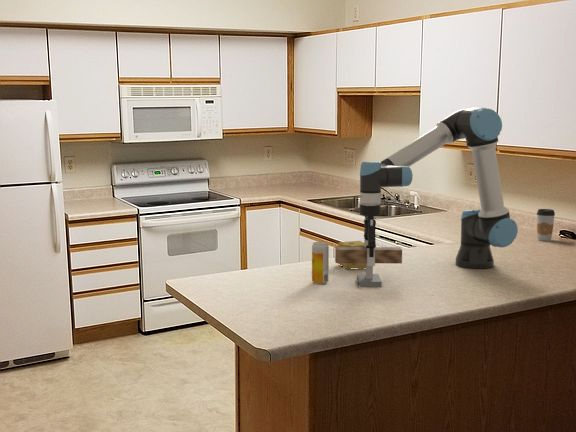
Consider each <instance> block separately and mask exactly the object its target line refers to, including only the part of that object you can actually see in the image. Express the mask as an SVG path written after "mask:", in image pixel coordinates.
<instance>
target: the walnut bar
mask: <svg viewBox="0 0 576 432" xmlns="http://www.w3.org/2000/svg"><path fill="white" fill-rule="evenodd" d="M334 248H335V250H334V251H335V257H334V261H335V264H338V263H367V248H366V247H338V246H335V247H334ZM375 264H403V249H402V248H401V247H398V246H376V247H375Z"/></svg>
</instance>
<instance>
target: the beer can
mask: <svg viewBox="0 0 576 432" xmlns="http://www.w3.org/2000/svg"><path fill="white" fill-rule="evenodd" d="M329 252H330V251H329V244H328V242H327V241H314V242H312V245H311V281H312V283H313V284H314V285H322V286H323V285H327V284H326V283H328V282H329V268H330V267H329V262H330V261H329V256H330V255H329V254H330V253H329Z"/></svg>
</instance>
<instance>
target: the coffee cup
mask: <svg viewBox="0 0 576 432" xmlns="http://www.w3.org/2000/svg"><path fill="white" fill-rule="evenodd" d="M555 215H556V214H555V210H554V209H550V208H538V209H537V212H536V218H537V219H536V222H537V223H536V228H537V229H536V231H537V233H536V234H537V240H538V241H540V242H551V240H552V239H553V238H552V237H553V233H554V232H553V231H554V222H555Z"/></svg>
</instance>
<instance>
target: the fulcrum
mask: <svg viewBox="0 0 576 432" xmlns="http://www.w3.org/2000/svg"><path fill="white" fill-rule="evenodd" d="M356 280H358V281H357V284H358V287H359V288H382V284H383V283H382V279H381V277H380V275H379V273H374V266H367V263H366V269H365V273H357V274H356Z"/></svg>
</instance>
